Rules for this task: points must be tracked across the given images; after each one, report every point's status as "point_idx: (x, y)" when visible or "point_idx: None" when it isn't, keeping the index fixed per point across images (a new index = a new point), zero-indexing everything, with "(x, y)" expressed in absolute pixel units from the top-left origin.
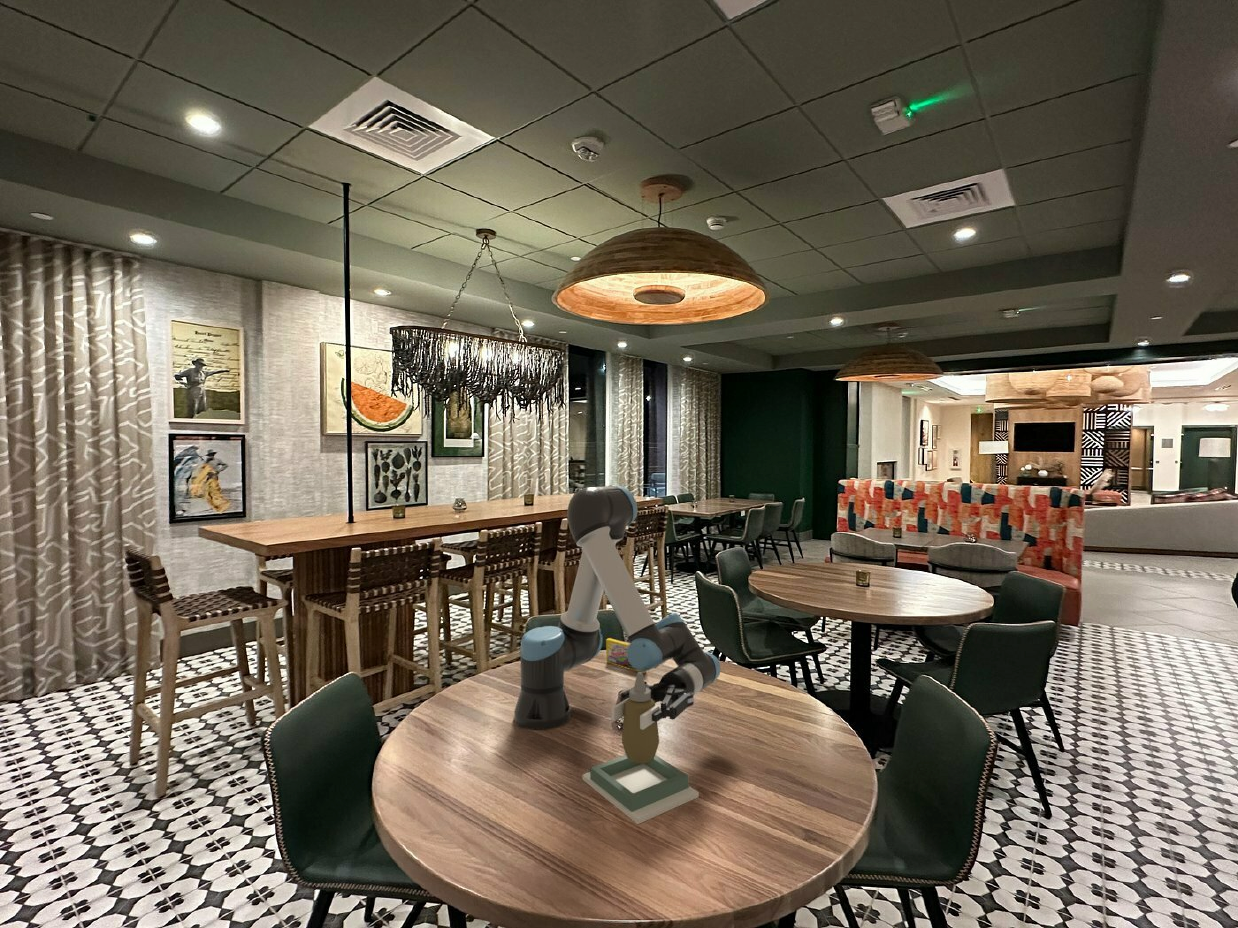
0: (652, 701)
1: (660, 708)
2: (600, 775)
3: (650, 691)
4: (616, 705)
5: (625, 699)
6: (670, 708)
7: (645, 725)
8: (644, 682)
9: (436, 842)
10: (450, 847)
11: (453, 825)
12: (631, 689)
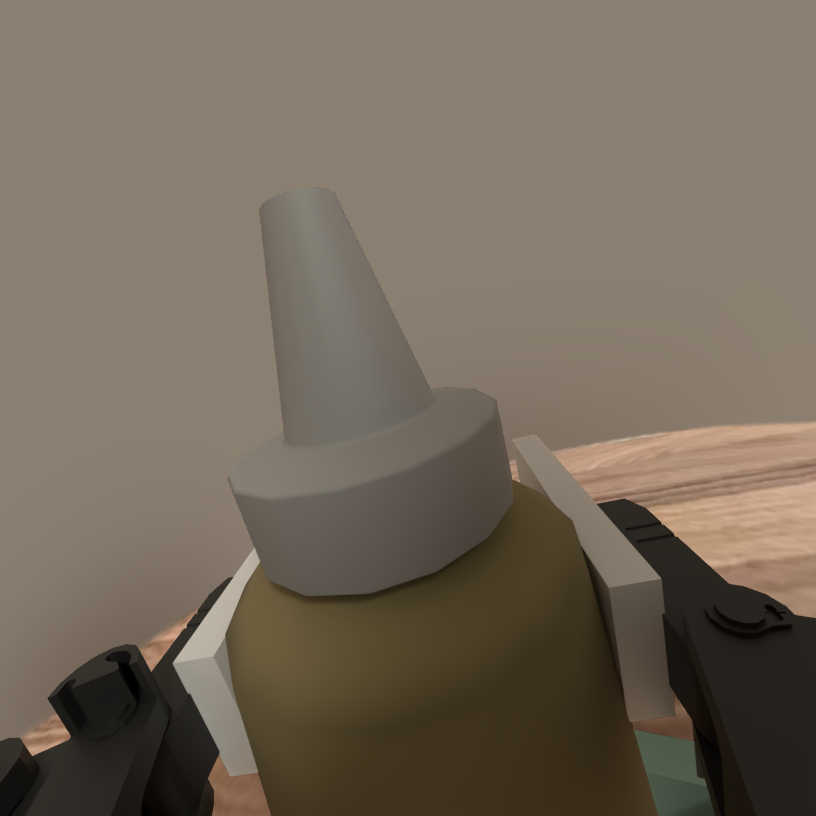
0: (250, 596)
1: (174, 712)
2: (640, 732)
3: (230, 474)
4: (542, 455)
5: (619, 533)
6: (23, 743)
7: None
8: (275, 345)
9: (630, 455)
10: (604, 462)
11: (670, 470)
12: (457, 394)
